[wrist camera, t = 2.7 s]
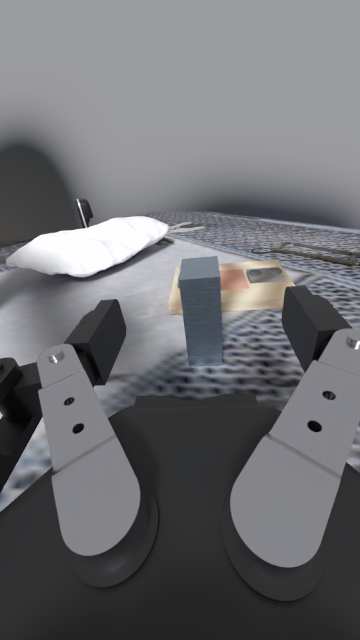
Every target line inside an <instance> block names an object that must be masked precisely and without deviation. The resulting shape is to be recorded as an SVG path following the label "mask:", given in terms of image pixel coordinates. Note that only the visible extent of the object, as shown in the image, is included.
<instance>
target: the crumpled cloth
mask: <svg viewBox="0 0 360 640" xmlns="http://www.w3.org/2000/svg"><path fill="white" fill-rule="evenodd" d="M167 232H168V225H167V224H164V223H162V222H160V221H158V220H155V219H152V218H149V217H144V216H136V217H126V218H114V219H110V220H108V221H106V222H103V223H100V224H98V225H95V226H92V227H88V228H83V229H76V230H72V231H59V232H57V233H49V234H44V235H40V236H39V237H37V238H35V239H34V240H33V241H31V242H30V243H28V244H27V245H25V246H23V247H21V248H20V249H18V250H17V251H16V252H15V253H14V254H12V255H11V256H10V257H8V258H7V259H6V264H7V265H8V266H10V267H15V266H18V267H20V268H22V269H34V270H36V271H39V272H42V273H46V274H49V275H55V274H59V273H60V274H69V275H71V276H74V277H88V276H91V275H93V274H95V273H97V272H99V271H101V270H105V269H107V268H109V267H111V266H113V265H115V264H119V263H122V262H125V261H126V260H128V259H129V258H130V257H132V256H134V255H135V254H136V253H137V252H139V251H141V250H143V249H145V248H146V247H149V246H151V245H152V244H154V243H156V242H158V241H159V240H160V239H162V238H163V237H164V236H165V235H166V234H167Z"/></svg>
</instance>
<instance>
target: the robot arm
mask: <svg viewBox="0 0 360 640" xmlns="http://www.w3.org/2000/svg"><path fill="white" fill-rule="evenodd" d="M282 325H283V329H284V331H285V333H286V335H287V337H288V339H289V341H290V343H291V345H292V348H293V350H294V352H295V354H296V356H297V358H298V360H299V362H300V364H301V366H302V368H303V370H304V372H305V375H304V376H303V378H302V380H301V381H300V383H299V384H298V386H297V388H296V389H295V391H294V393H293V394H292V396H291V398H290V399H289V401H288V403H287V404H286V406H285V408H284V409H283V411H282V412H281V411H279V410H277V409H275V408H272V407H270V406H267V405H263V404H259V403H257V400H256V396H255V394H224V395H220V396H216V397H211V398H207V399H203V400H199V401H188V400H183V399H178V398H173V397H168V396H137V399H136V402H135V406H132V407H129V408H126V409H124V410H121V411H119V412H117V413H116V414H114V415H112V416H111V417H109V418H107V416H106V414H105V412H104V410H103V407H102V405H101V403H100V401H99V399H98V397H97V395H96V393H95V391H94V389H93V388H94V386H95V385H105V384H106V382H107V379H108V377H109V375H110V372H111V370H112V367H113V365H114V363H115V360H116V358H117V356H118V353H119V351H120V349H121V346H122V344H123V342H124V339H125V337H126V326H125V322H124V319H123V315H122V312H121V308H120V305H119V302H118V300H117V299H112V300H101V301H100V302H99V304H98V305H97V307H96V308H95V309H94V310H93V311H91V312H89V313H88V314H86V315H85V316H84V317H83V318H82V320H81V321H80V322H79V324H78V325H77V326H76V328H75V329H74V330H73V332H72V333H71V334H70V336H69V337H68V338H67V340H66V341H65V342H64V344H60V345H56V346H53V347H51V348H49V349H47V350H45V351H44V352H43V353H41V354H40V356H39V357H38V359H37V362H35V363H31V364H27V365H23V366H20V367H19V366H18V364H17V362H16V361H15V359H13V358H2V359H0V412H1V414H2V415H3V417H2V418H1V419H0V493H1V491H2V489H3V487H4V485H5V484H6V482H7V480H8V478H9V476H10V475H11V473H12V471H13V469H14V467H15V466H16V464H17V462H18V460H19V458H20V456H21V455H22V453H23V451H24V449H25V447H26V446H27V444H28V442H29V440H30V438H31V437H32V435H33V433H34V431H35V429H36V427H37V426H38V424H39V422H40V420H41V418H42V417H43V419H44V424H45V429H46V434H47V439H48V444H49V449H50V454H51V459H52V464H53V467H52V468H50V469H49V470H48V471H47V472H46V473H45V474H44V475H42V476H41V477H40V478H39V479H38V480H37V481H36V482H34V483H33V484H32V485H31V486H30V487H29V488H28V489H26V490H25V491H24V492H23V493H22V494H21V495H20V496H18V497H17V498H16V499H15V500H14V501H13V502H12V503H10V504H9V505H8V506H7V507H6V508H5V509H4V510H2V511H1V512H0V640H360V473H359V472H358V471H357V470H355V469H354V468H353V467H352V466H351V465H349V464H348V463H347V462H346V460H347V457H348V454H349V451H350V448H351V445H352V442H353V439H354V436H355V433H356V430H357V427H358V424H359V421H360V330H358V329H353V328H352V327H351V326H350V325H349V324H348V323H347V322H346V320H345V319H344V318H343V317H342V316H341V315H340V314H339V313H338V311H337V310H336V309H335V308H333V306H332V305H331V304H330V302H329V301H328V300H326V299H324V298H322V297H320V296H319V295H312V293H311V292H310V291H309V290H308V288H307V287H306V286H305V285H301V286H288V287H286V289H285V293H284V302H283V311H282Z"/></svg>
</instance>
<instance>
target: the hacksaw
mask: <svg viewBox="0 0 360 640" xmlns="http://www.w3.org/2000/svg"><path fill="white" fill-rule="evenodd" d="M290 243H293V242H285V243H283V244H282V245H281V247H279V248H275V249H270V250H272V251H269V252H253V250H254V249H252V250H251V252H252V253H255V254H263V253H271V252H278V253H284V254H294V255H300V256H305V257H310V258H314V259H315V258H317V259H321V260H327V261H331V262H337V263H341V264H347V266H348V265H360V262H357V261H358V260H356V258H360V252H354V253H351V252H347V251H341V250H335V249H328V248H322V247H316V246H309V245H303V244H297V243H294V245H296V246H301V247H306V248H311V249H317V250H322V251H328V252H334V253H340V254H346V255H351V256H350V257H349V260H347V259H340V258H334V257H328V256H321V255H315V254H309V253H302V252H296V251H287V250H281V249H282V248H283V247H284V246H285V245H286V244H290ZM255 249H260V248H255ZM264 249H266V248H264ZM346 257H347V256H346ZM348 267H349V266H348ZM351 268H354V267H351ZM355 269H360V268H355Z"/></svg>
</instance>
